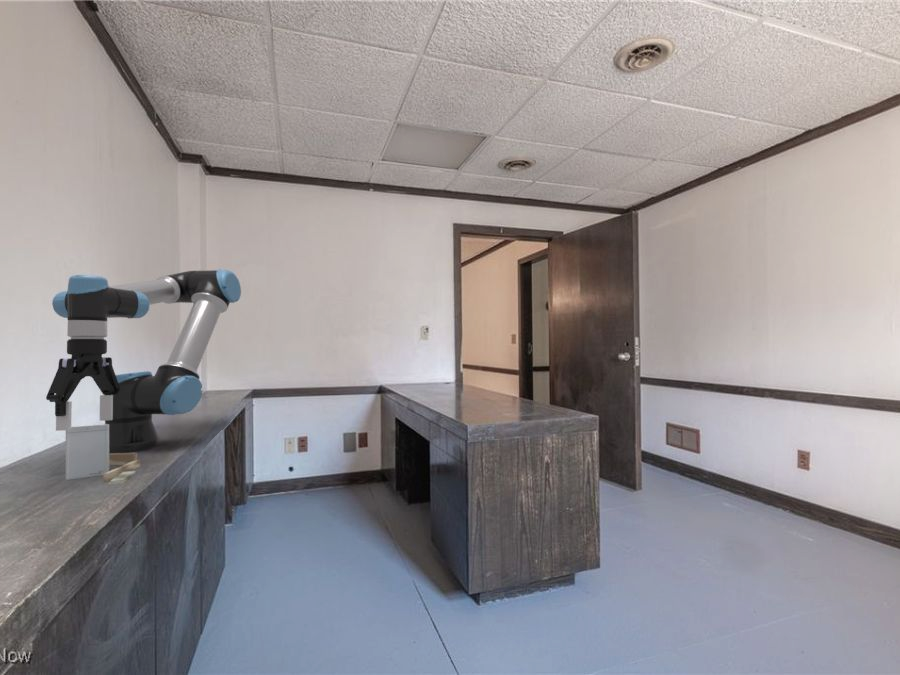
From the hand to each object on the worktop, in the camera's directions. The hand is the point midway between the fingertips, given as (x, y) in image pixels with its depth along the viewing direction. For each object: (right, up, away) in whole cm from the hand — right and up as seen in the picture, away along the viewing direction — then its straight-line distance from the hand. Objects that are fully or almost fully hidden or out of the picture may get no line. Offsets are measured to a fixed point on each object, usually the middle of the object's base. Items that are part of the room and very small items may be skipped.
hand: (86, 425), depth 104 cm
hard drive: (0, -13, 0) cm, 13 cm away
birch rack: (+1, -13, +3) cm, 13 cm away
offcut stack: (+11, -13, -2) cm, 17 cm away
